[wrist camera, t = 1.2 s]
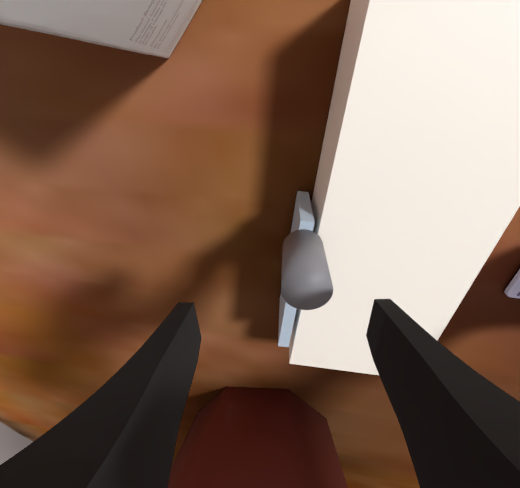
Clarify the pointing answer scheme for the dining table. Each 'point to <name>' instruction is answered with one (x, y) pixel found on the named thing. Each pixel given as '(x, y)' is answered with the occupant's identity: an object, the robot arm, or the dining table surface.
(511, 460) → the robot arm
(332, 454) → the bucket
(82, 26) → the supplement box
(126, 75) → the dining table surface
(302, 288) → the flap
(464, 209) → the carton
